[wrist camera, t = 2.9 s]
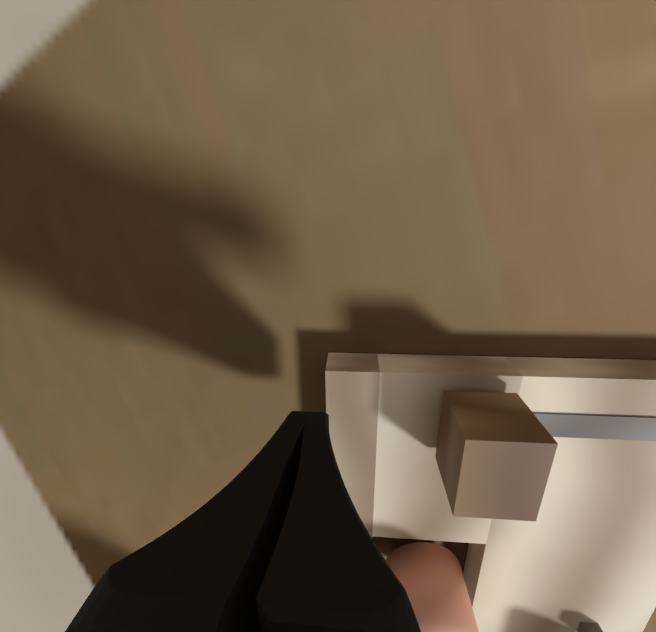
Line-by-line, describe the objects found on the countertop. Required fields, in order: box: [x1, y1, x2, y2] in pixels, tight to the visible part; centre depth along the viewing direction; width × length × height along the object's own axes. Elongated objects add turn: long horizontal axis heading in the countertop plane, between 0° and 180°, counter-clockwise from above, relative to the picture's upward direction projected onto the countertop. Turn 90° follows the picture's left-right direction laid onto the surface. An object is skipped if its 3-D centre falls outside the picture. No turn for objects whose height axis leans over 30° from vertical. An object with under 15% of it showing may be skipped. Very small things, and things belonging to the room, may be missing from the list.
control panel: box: [325, 353, 656, 632], centre depth 15 cm, size 15×19×3 cm
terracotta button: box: [386, 542, 479, 632], centre depth 15 cm, size 4×4×3 cm
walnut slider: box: [435, 391, 558, 521], centre depth 11 cm, size 2×3×2 cm
